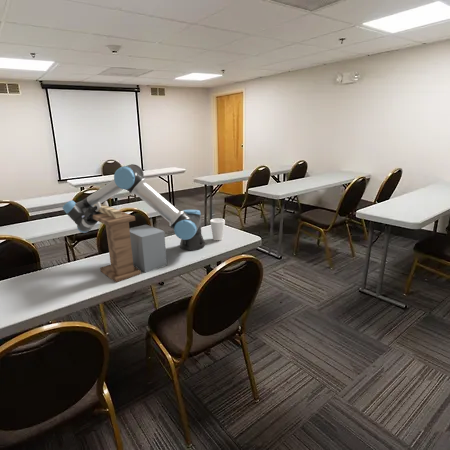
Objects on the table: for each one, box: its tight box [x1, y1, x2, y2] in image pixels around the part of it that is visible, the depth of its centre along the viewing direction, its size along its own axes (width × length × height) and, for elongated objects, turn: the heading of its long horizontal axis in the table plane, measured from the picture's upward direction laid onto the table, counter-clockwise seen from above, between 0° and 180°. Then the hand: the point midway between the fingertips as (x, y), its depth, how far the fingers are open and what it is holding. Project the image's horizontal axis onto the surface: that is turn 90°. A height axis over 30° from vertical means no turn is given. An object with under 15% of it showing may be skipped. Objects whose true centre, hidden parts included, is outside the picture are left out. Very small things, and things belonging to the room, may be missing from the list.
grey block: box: [129, 224, 168, 273], centre depth 169 cm, size 18×13×19 cm
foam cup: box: [209, 217, 226, 241], centre depth 206 cm, size 10×9×13 cm
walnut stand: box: [93, 211, 142, 283], centre depth 157 cm, size 18×13×30 cm
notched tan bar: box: [94, 203, 122, 218], centre depth 157 cm, size 24×3×3 cm, turn 44°
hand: (103, 203), depth 158 cm, fingers closed on notched tan bar, 3 cm apart
